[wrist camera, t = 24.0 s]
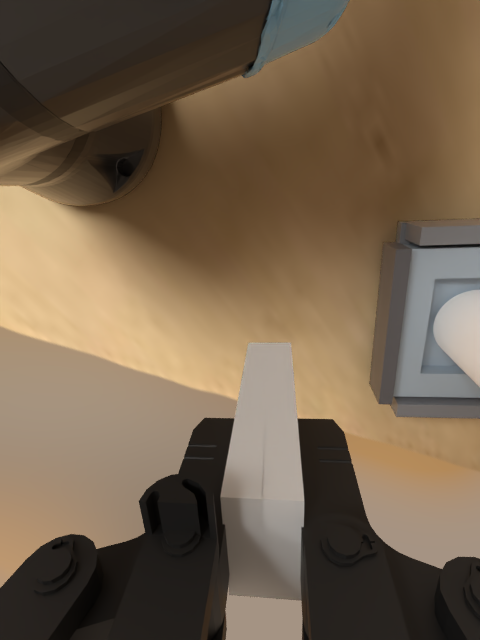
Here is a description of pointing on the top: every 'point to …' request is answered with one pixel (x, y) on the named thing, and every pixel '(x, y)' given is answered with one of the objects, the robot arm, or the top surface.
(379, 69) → the top surface
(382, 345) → the tray
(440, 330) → the can
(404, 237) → the tray
